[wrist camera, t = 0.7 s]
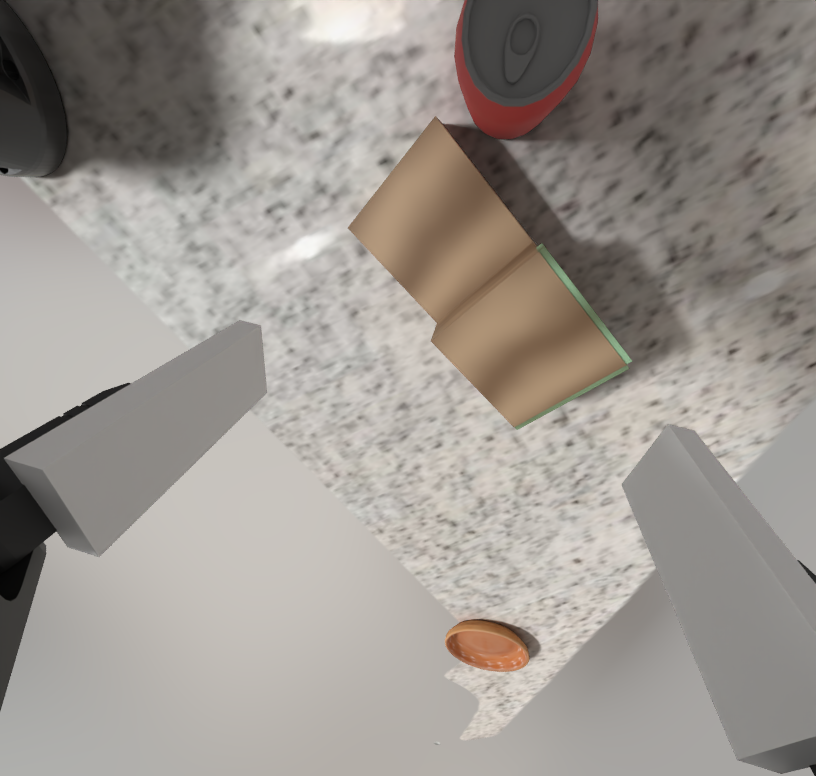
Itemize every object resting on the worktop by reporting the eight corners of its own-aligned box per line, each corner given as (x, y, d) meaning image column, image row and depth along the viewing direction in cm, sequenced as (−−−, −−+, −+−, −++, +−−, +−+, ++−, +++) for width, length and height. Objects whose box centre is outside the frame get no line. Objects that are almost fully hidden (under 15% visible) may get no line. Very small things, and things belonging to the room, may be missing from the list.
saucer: (436, 613, 68) (434, 629, 65) (518, 615, 62) (519, 633, 60) (459, 652, 75) (458, 668, 72) (535, 657, 69) (537, 675, 66)
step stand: (362, 222, 31) (328, 235, 25) (446, 118, 26) (431, 99, 20) (512, 384, 37) (517, 430, 31) (605, 325, 32) (635, 365, 25)
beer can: (455, 130, 27) (435, 105, 17) (481, 10, 23) (473, -115, 13) (539, 148, 26) (568, 133, 16) (578, 28, 22) (648, -87, 12)
